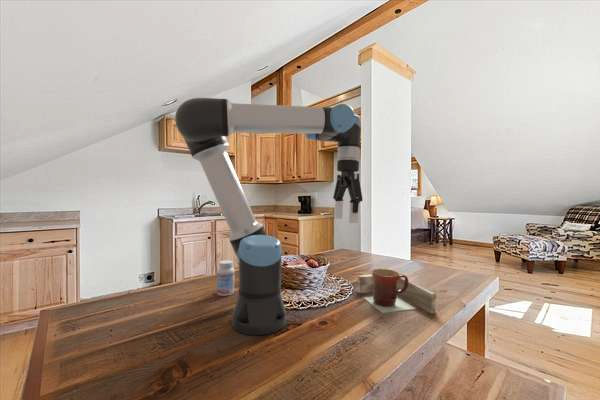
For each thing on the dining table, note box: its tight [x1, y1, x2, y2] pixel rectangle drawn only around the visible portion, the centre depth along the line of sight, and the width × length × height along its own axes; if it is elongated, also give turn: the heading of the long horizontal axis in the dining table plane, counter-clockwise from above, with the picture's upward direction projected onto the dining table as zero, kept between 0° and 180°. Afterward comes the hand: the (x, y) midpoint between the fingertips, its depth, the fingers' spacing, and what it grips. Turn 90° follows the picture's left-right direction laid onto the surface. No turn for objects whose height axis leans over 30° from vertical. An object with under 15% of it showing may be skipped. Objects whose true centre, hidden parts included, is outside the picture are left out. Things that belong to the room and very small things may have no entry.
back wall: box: [396, 277, 437, 314], centre depth 96 cm, size 2×21×6 cm, turn 15°
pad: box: [362, 295, 417, 314], centre depth 92 cm, size 12×12×1 cm
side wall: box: [357, 274, 373, 294], centre depth 103 cm, size 14×2×6 cm, turn 105°
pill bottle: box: [216, 259, 236, 297], centre depth 98 cm, size 6×6×11 cm
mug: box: [370, 268, 409, 307], centre depth 92 cm, size 12×9×10 cm
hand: (345, 220), depth 98 cm, fingers open, 13 cm apart
